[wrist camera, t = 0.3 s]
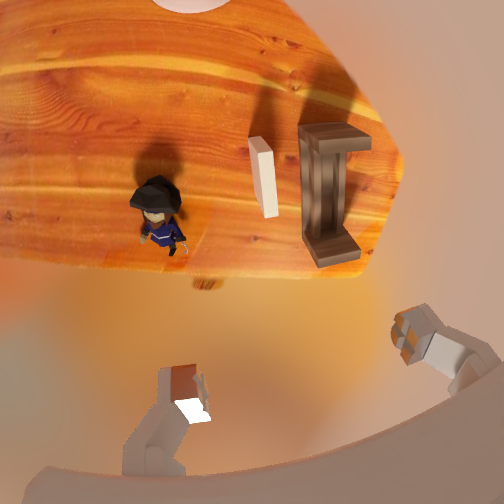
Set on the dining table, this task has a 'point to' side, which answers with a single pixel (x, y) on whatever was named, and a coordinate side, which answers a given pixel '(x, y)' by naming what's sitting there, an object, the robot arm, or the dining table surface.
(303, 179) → the wooden rack
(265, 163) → the door panel
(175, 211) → the toy
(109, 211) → the dining table surface
